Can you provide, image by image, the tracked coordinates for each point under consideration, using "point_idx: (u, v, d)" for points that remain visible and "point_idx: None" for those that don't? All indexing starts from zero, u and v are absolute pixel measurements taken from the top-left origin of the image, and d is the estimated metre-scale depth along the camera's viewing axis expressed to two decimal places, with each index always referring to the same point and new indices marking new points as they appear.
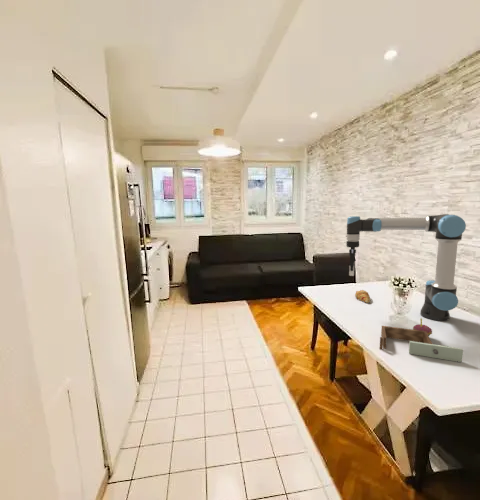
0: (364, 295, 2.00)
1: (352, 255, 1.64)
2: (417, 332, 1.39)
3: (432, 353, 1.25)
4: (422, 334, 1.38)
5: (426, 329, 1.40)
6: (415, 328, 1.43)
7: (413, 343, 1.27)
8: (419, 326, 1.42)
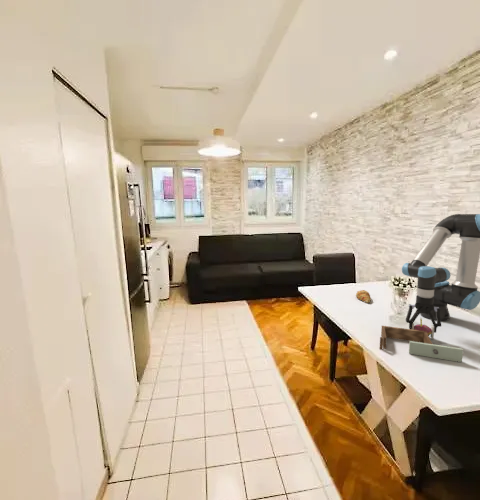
0: (364, 295, 2.00)
1: (408, 311, 1.44)
2: (417, 332, 1.39)
3: (432, 353, 1.25)
4: (422, 334, 1.38)
5: (426, 329, 1.40)
6: (415, 328, 1.43)
7: (413, 343, 1.27)
8: (419, 326, 1.42)
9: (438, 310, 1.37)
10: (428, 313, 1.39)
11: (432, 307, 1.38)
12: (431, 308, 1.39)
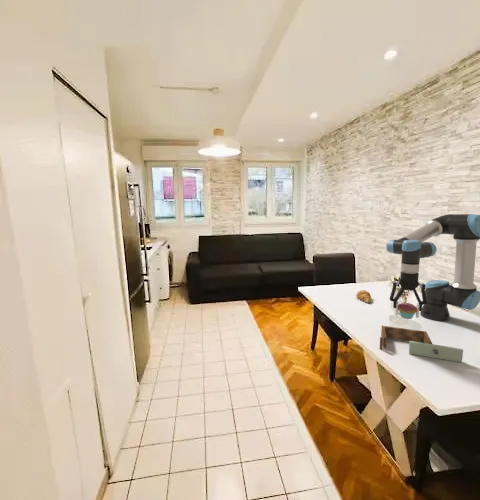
0: (365, 295, 2.00)
1: (392, 288, 1.35)
2: (417, 332, 1.39)
3: (432, 353, 1.25)
4: (422, 334, 1.38)
5: (411, 307, 1.30)
6: (399, 307, 1.33)
7: (413, 343, 1.27)
8: (403, 304, 1.33)
9: (423, 286, 1.28)
10: (413, 290, 1.30)
11: (417, 283, 1.29)
12: (416, 284, 1.29)
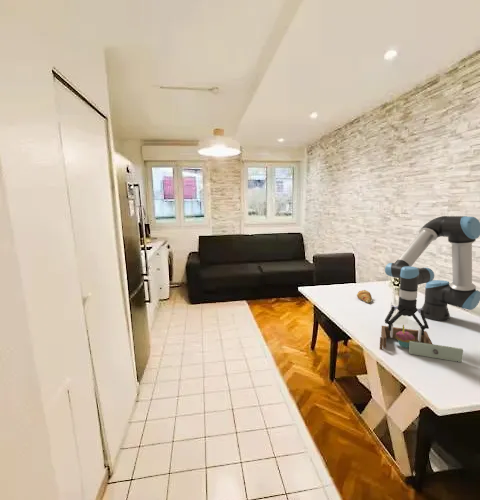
0: (365, 295, 1.99)
1: (389, 312, 1.37)
2: (417, 332, 1.39)
3: (432, 353, 1.25)
4: None
5: (408, 336, 1.33)
6: (397, 335, 1.36)
7: (413, 343, 1.27)
8: (401, 333, 1.36)
9: (422, 312, 1.30)
10: None
11: (415, 309, 1.31)
12: (414, 311, 1.31)
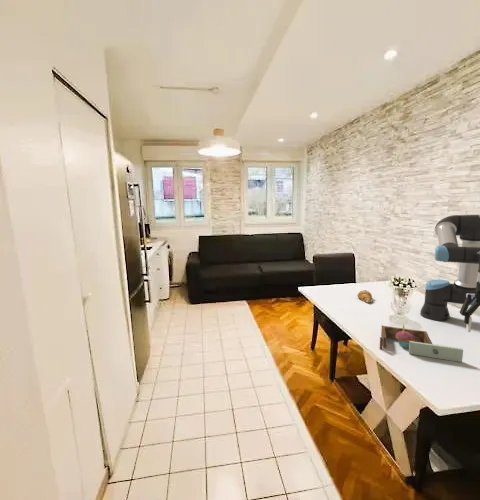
0: (366, 295, 1.99)
1: (465, 301, 1.16)
2: (417, 332, 1.39)
3: (432, 353, 1.25)
4: (422, 334, 1.38)
5: (408, 336, 1.33)
6: (397, 335, 1.36)
7: (413, 343, 1.27)
8: (401, 333, 1.36)
9: None
10: None
11: None
12: None
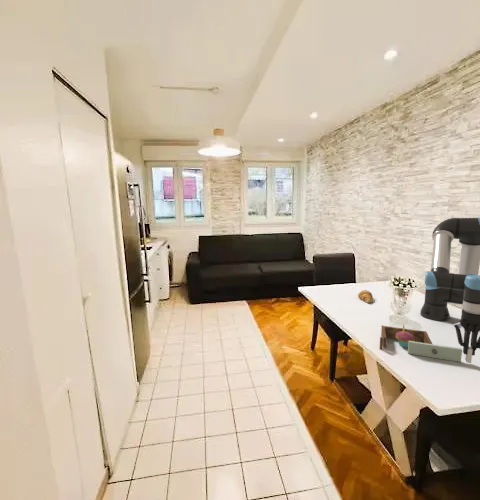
0: (366, 295, 1.99)
1: (457, 332, 1.19)
2: (417, 332, 1.39)
3: (431, 353, 1.25)
4: (422, 334, 1.38)
5: (408, 336, 1.33)
6: (397, 335, 1.36)
7: (412, 343, 1.27)
8: (401, 333, 1.36)
9: None
10: (474, 331, 1.15)
11: None
12: None
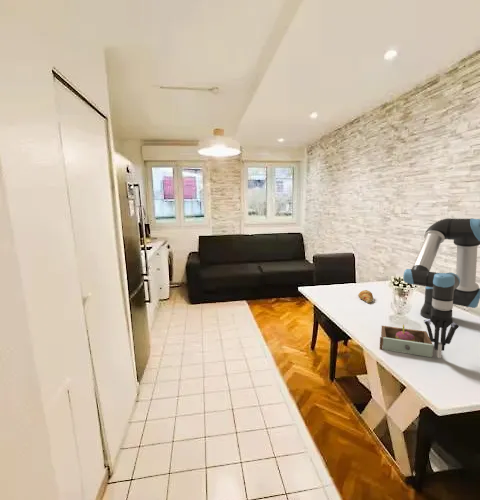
0: (366, 295, 1.99)
1: (427, 328, 1.23)
2: (417, 332, 1.39)
3: (405, 349, 1.29)
4: (422, 334, 1.38)
5: (408, 336, 1.33)
6: (397, 335, 1.36)
7: (387, 339, 1.32)
8: (401, 333, 1.36)
9: (456, 327, 1.18)
10: (443, 328, 1.20)
11: (451, 321, 1.19)
12: (449, 322, 1.19)
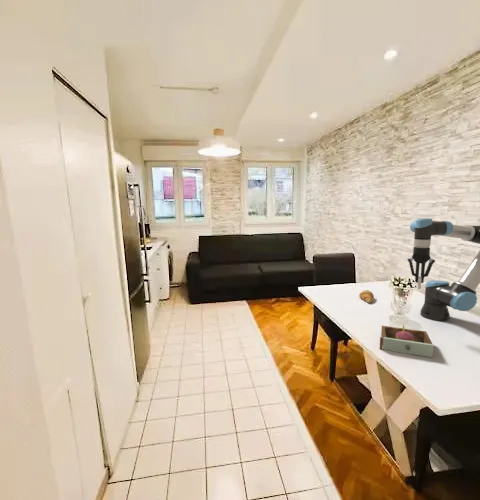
0: (367, 295, 1.99)
1: (410, 265, 1.50)
2: (417, 332, 1.39)
3: (405, 349, 1.29)
4: (422, 334, 1.38)
5: (408, 336, 1.33)
6: (397, 335, 1.36)
7: (387, 339, 1.32)
8: (401, 333, 1.36)
9: (432, 261, 1.44)
10: (422, 263, 1.46)
11: (429, 257, 1.45)
12: (427, 258, 1.45)
